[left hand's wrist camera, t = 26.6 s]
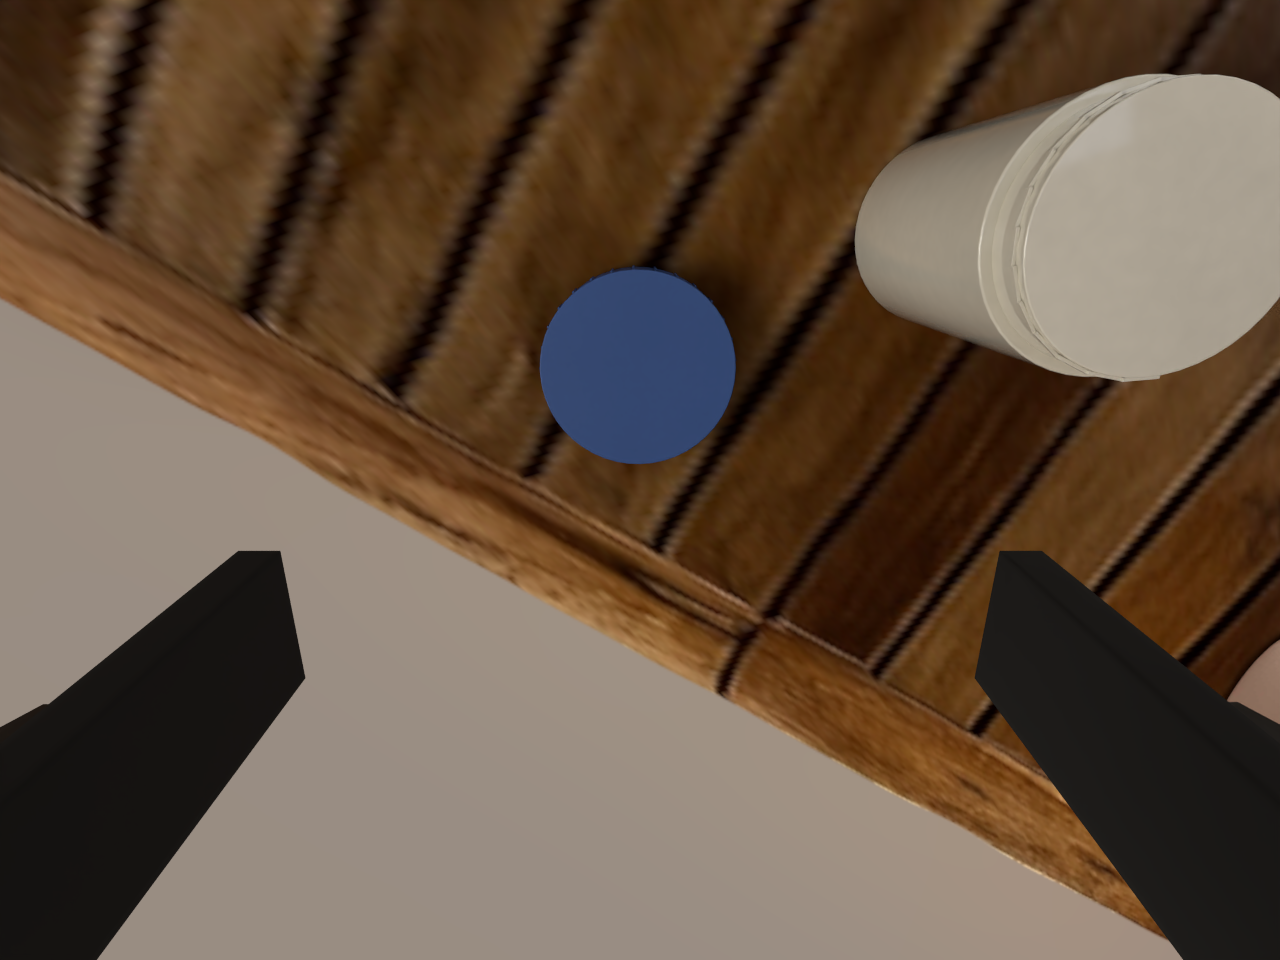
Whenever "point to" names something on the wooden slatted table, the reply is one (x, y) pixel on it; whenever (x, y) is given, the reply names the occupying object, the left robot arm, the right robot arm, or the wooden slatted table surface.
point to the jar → (1088, 226)
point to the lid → (637, 365)
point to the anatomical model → (1261, 685)
